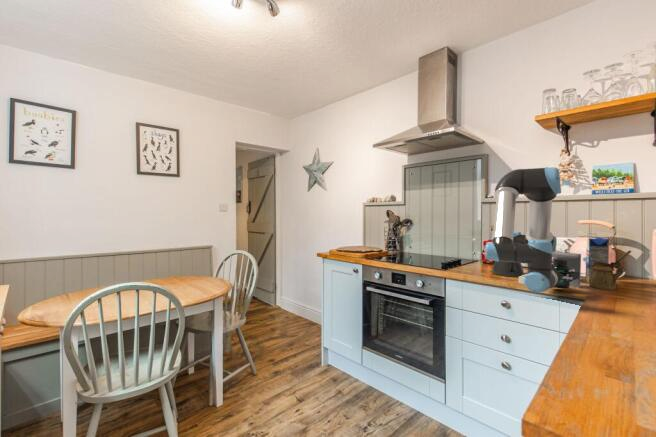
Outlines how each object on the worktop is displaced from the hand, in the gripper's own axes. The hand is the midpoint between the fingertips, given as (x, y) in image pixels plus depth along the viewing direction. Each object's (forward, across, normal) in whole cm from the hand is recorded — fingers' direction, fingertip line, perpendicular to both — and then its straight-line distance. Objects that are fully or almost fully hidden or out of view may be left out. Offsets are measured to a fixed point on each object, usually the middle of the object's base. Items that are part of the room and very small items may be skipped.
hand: (563, 270), depth 135 cm
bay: (+3, 0, -8) cm, 8 cm away
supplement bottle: (-5, 0, -7) cm, 8 cm away
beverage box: (+27, +7, -8) cm, 29 cm away
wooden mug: (+17, +13, -8) cm, 23 cm away
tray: (+1, -11, -8) cm, 14 cm away
